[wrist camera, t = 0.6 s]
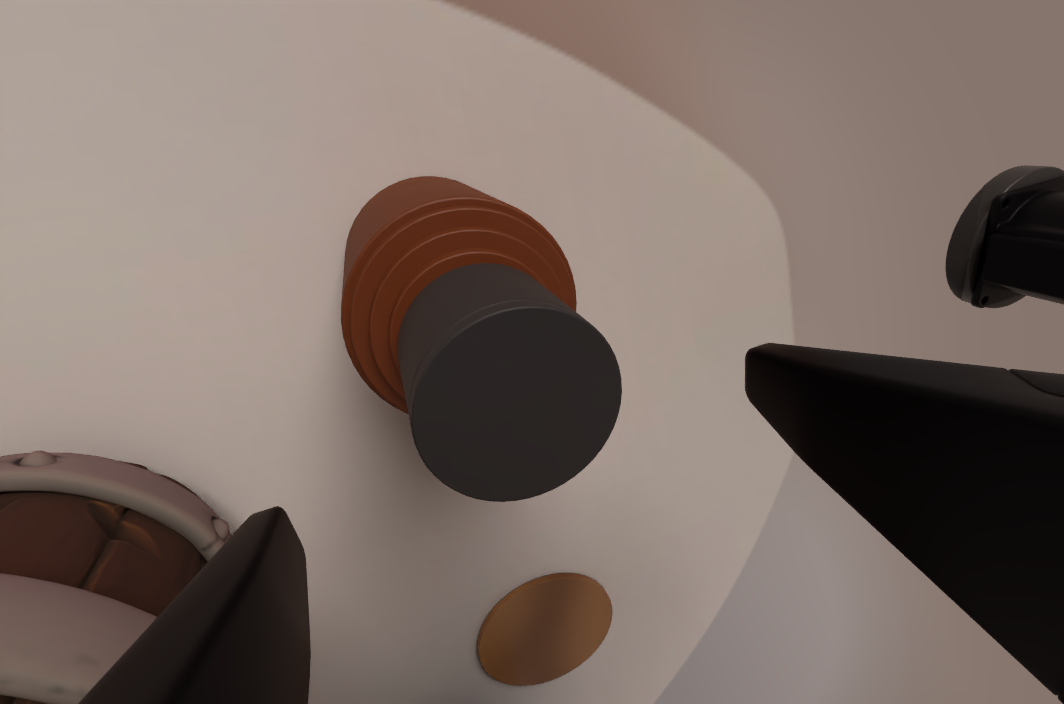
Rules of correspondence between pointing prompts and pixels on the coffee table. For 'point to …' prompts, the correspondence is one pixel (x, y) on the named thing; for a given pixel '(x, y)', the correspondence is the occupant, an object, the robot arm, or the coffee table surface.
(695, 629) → the coffee table surface
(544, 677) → the coaster
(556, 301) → the cap
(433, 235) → the bottle
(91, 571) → the flowerpot
